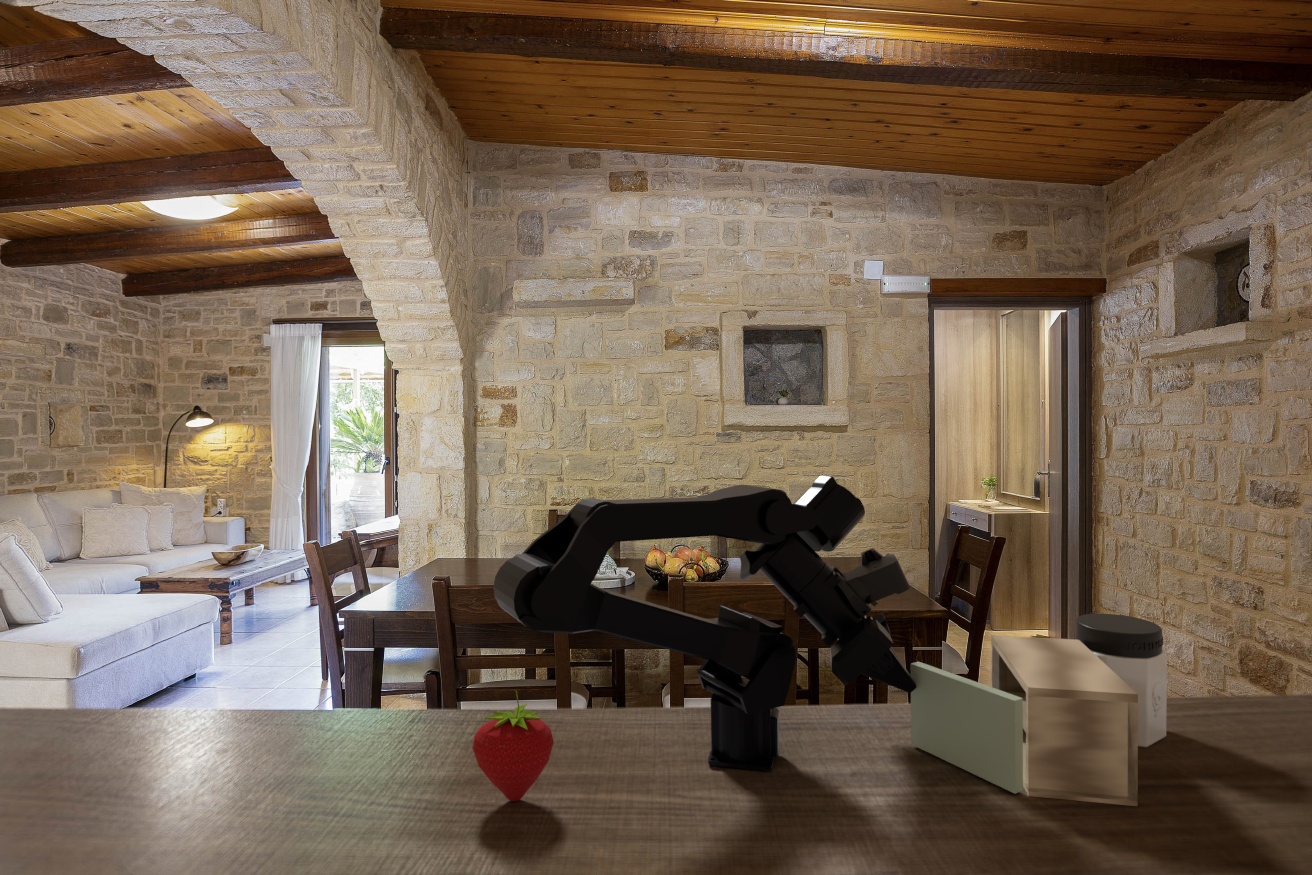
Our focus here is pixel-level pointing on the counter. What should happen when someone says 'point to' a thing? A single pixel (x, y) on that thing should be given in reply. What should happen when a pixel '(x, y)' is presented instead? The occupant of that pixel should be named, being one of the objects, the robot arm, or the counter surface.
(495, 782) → the strawberry
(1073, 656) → the cabinet
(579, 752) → the counter surface
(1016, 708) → the door
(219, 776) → the counter surface
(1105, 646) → the jar
